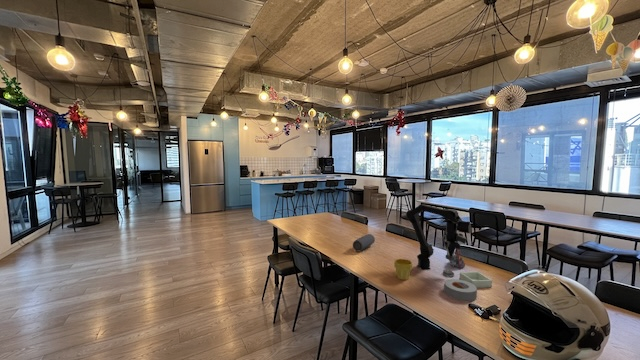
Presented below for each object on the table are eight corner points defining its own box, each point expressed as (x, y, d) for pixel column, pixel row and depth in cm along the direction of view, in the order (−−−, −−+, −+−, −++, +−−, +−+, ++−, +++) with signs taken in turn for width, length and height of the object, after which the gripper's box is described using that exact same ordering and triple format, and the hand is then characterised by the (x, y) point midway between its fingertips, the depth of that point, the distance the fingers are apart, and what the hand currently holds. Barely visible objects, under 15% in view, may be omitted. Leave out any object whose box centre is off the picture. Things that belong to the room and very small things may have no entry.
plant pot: (390, 275, 164) (390, 259, 163) (403, 272, 168) (404, 257, 167) (401, 282, 154) (402, 266, 154) (415, 279, 159) (416, 263, 158)
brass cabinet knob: (455, 260, 162) (456, 248, 161) (446, 259, 163) (447, 247, 162) (453, 257, 166) (453, 246, 166) (444, 256, 168) (445, 245, 167)
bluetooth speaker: (364, 244, 225) (365, 232, 224) (375, 246, 219) (375, 234, 218) (351, 251, 206) (352, 238, 205) (362, 254, 201) (362, 241, 200)
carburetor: (470, 266, 173) (458, 251, 174) (455, 274, 176) (443, 259, 177) (466, 260, 184) (455, 245, 185) (451, 268, 186) (441, 253, 188)
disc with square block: (446, 277, 162) (446, 274, 162) (440, 272, 168) (440, 269, 168) (456, 276, 163) (456, 273, 163) (450, 272, 169) (450, 269, 169)
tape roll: (439, 294, 142) (439, 284, 142) (450, 284, 153) (450, 276, 152) (471, 305, 131) (471, 295, 131) (480, 294, 142) (480, 285, 141)
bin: (472, 288, 148) (473, 281, 148) (459, 278, 160) (459, 272, 160) (491, 287, 150) (492, 280, 149) (477, 278, 161) (477, 271, 161)
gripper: (470, 235, 152) (469, 262, 154) (461, 227, 171) (460, 251, 172) (449, 234, 155) (448, 260, 156) (442, 226, 173) (441, 249, 174)
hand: (450, 255), depth 164 cm, fingers closed on brass cabinet knob, 4 cm apart
